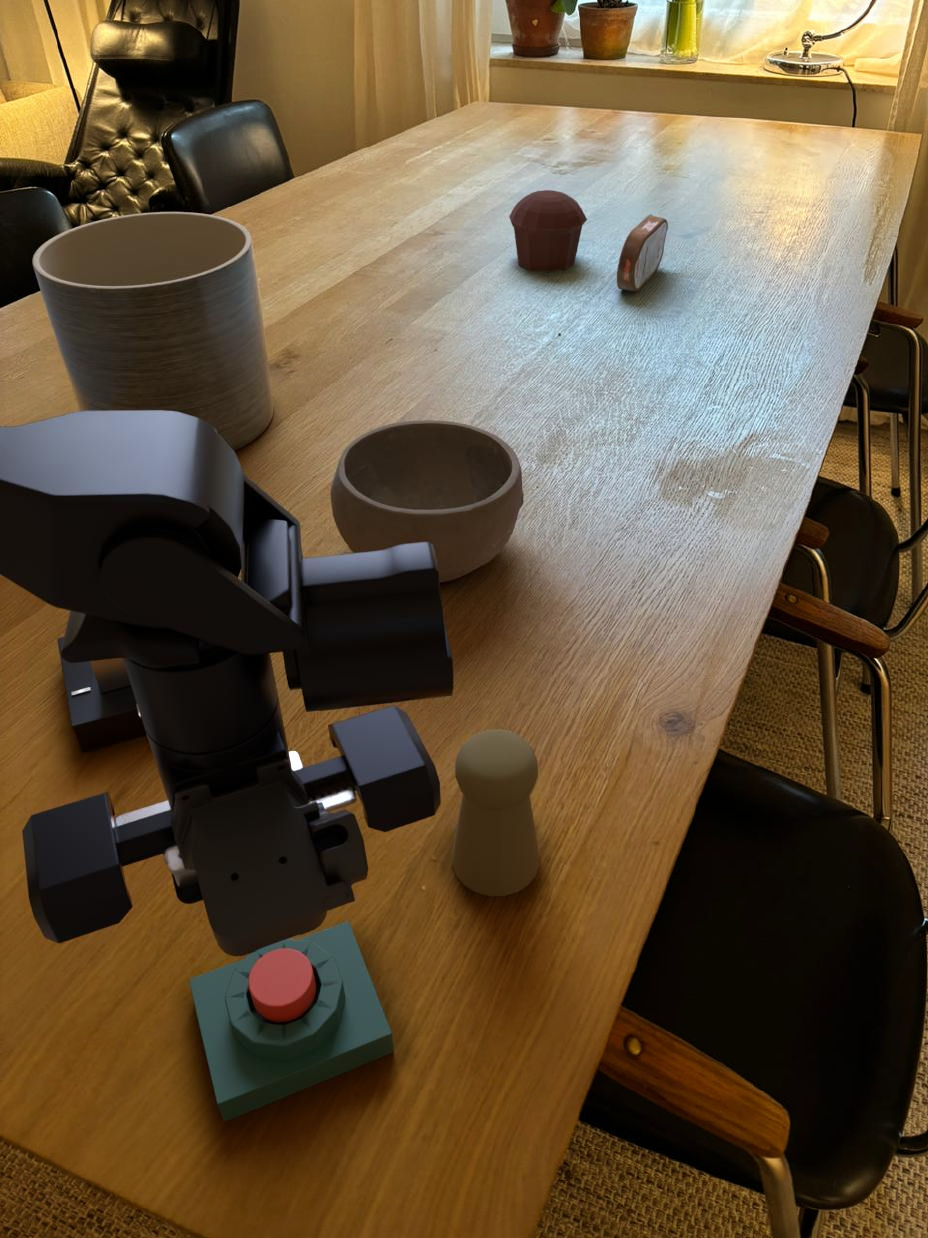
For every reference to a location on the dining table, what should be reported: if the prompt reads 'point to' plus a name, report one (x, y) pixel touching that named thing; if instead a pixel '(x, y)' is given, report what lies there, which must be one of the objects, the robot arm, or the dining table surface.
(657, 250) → the tin
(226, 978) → the button block
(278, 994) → the button
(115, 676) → the grey rectangular block
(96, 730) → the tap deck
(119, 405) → the planter
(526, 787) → the brown pawn
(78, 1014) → the dining table surface
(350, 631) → the robot arm
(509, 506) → the bowl
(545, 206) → the muffin
